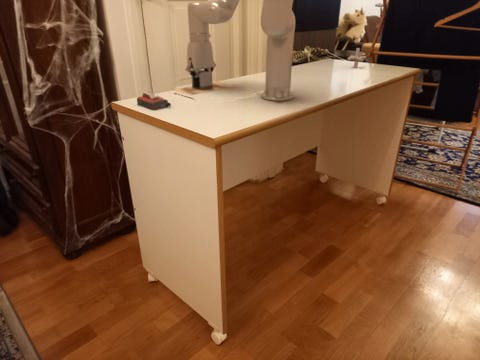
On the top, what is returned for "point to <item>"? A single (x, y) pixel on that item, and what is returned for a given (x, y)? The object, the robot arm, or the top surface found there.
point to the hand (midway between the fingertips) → (202, 85)
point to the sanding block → (204, 80)
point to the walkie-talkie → (152, 101)
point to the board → (196, 91)
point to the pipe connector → (357, 57)
